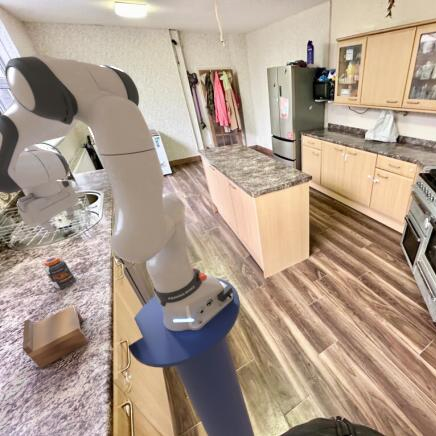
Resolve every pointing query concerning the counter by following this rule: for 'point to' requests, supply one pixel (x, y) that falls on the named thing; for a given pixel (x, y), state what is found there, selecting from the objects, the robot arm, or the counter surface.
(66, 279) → the pill bottle
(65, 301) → the counter surface
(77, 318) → the tan scooped block
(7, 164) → the robot arm
